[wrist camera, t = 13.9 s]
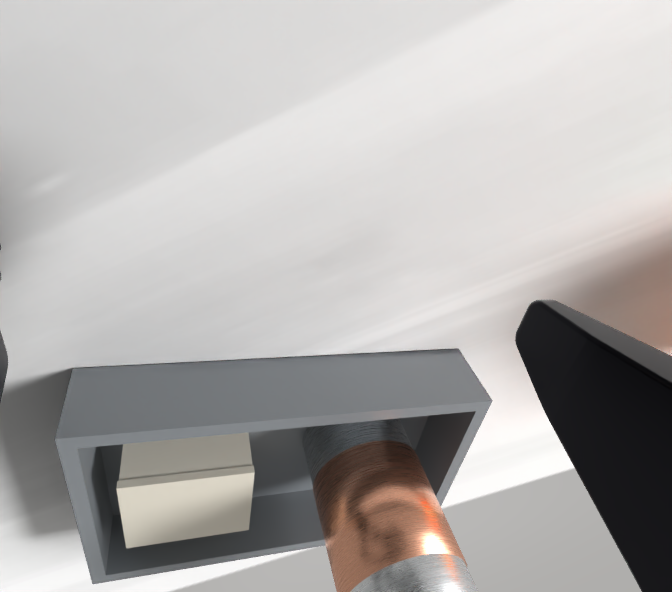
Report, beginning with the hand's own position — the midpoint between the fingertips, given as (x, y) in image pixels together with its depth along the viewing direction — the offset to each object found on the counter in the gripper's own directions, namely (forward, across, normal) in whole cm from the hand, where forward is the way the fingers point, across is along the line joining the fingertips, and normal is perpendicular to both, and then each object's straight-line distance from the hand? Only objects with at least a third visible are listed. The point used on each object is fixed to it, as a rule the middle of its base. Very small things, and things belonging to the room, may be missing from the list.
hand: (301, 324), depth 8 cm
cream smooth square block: (+11, +2, +18) cm, 21 cm away
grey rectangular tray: (+12, -3, +18) cm, 22 cm away
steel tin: (+11, -7, +18) cm, 22 cm away
